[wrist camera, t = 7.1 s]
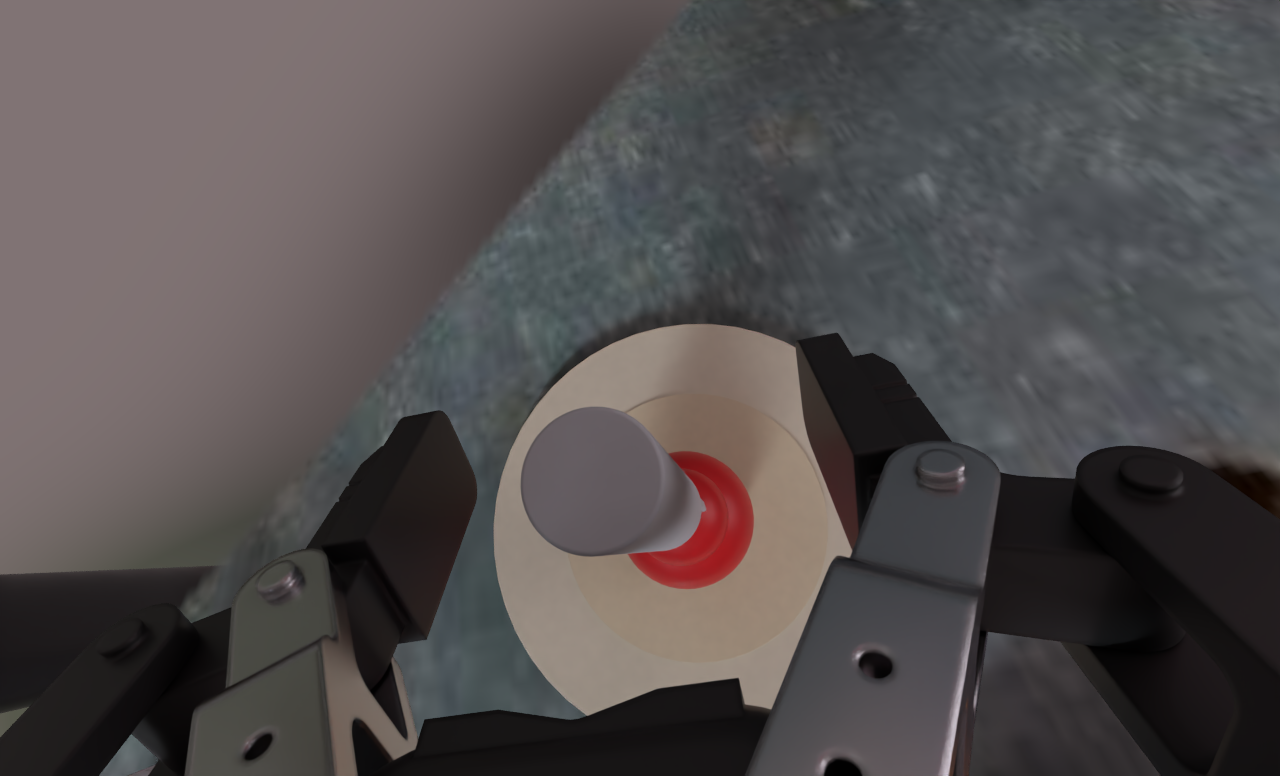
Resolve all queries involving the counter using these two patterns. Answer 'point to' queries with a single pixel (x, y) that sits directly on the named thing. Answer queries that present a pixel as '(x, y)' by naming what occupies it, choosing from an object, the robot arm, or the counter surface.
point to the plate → (613, 585)
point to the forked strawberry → (635, 499)
